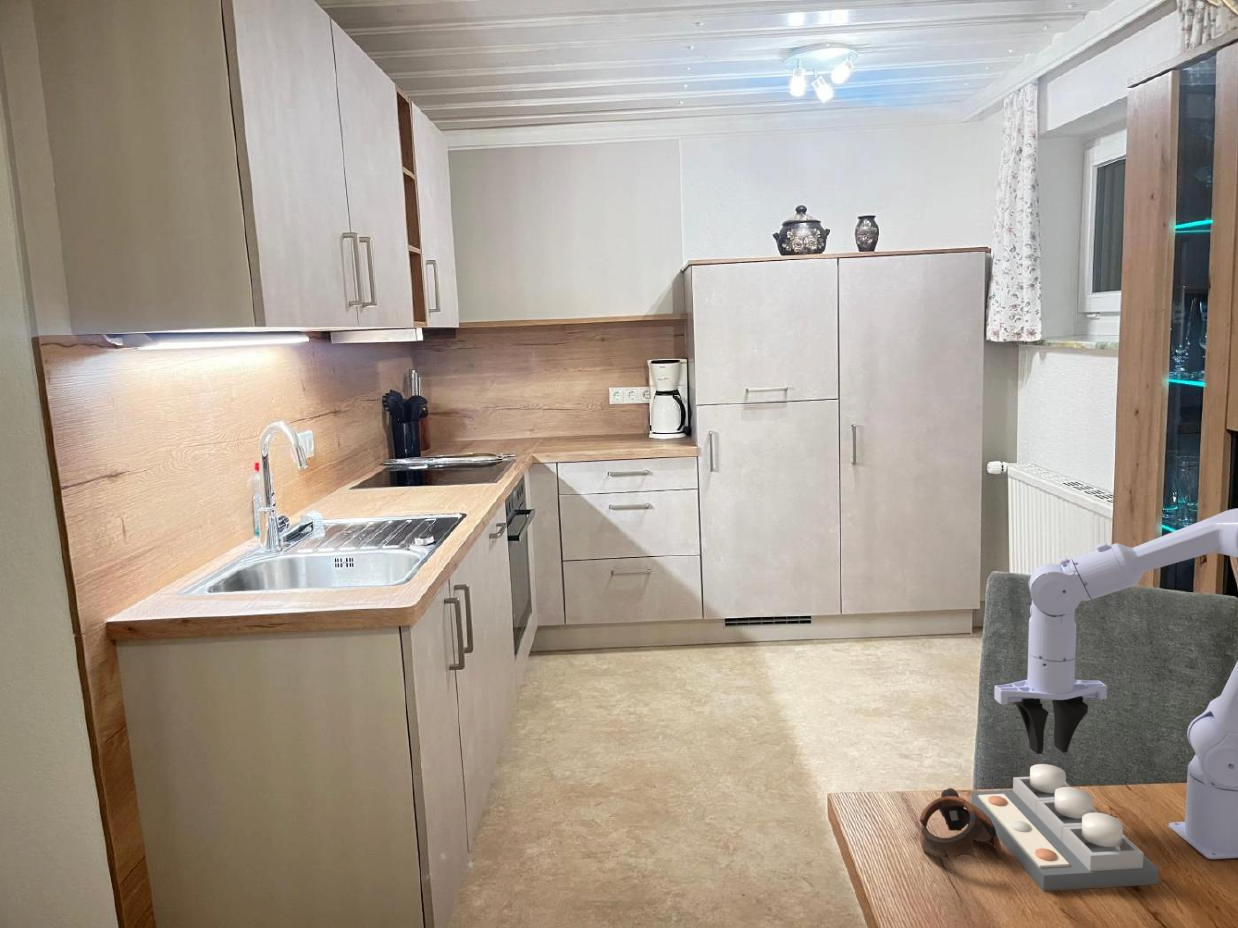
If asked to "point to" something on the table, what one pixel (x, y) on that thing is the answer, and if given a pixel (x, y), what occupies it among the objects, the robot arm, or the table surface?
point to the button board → (1059, 842)
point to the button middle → (1073, 802)
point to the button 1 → (1047, 777)
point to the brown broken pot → (957, 827)
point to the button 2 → (1102, 829)
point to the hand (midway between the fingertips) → (1048, 749)
